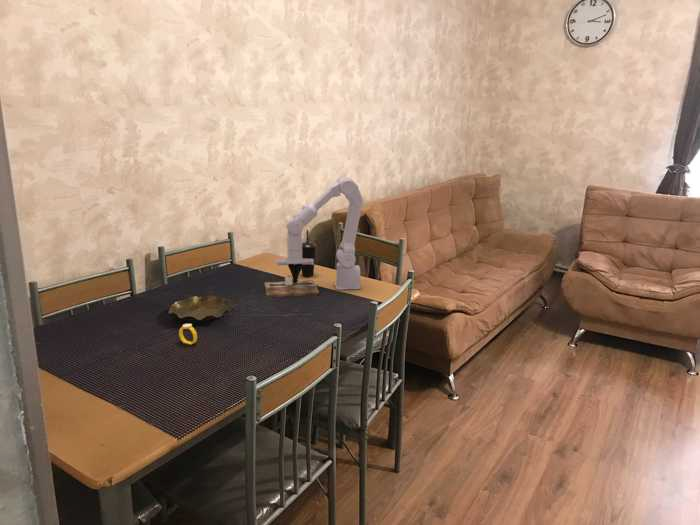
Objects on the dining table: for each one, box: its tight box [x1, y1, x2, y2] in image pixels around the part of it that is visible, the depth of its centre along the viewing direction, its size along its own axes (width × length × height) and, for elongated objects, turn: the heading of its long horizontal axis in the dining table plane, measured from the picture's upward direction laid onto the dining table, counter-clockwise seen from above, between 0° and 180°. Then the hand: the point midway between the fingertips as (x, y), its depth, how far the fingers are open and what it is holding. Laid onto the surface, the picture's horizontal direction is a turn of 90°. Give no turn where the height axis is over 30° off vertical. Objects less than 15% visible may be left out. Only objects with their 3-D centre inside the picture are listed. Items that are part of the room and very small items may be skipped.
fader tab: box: [284, 274, 293, 286], centre depth 218 cm, size 3×4×4 cm
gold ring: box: [178, 323, 198, 345], centre depth 166 cm, size 6×3×6 cm, turn 64°
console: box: [264, 279, 320, 298], centre depth 218 cm, size 20×16×2 cm
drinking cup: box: [301, 229, 317, 278], centre depth 235 cm, size 8×8×20 cm
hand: (295, 282), depth 218 cm, fingers closed
